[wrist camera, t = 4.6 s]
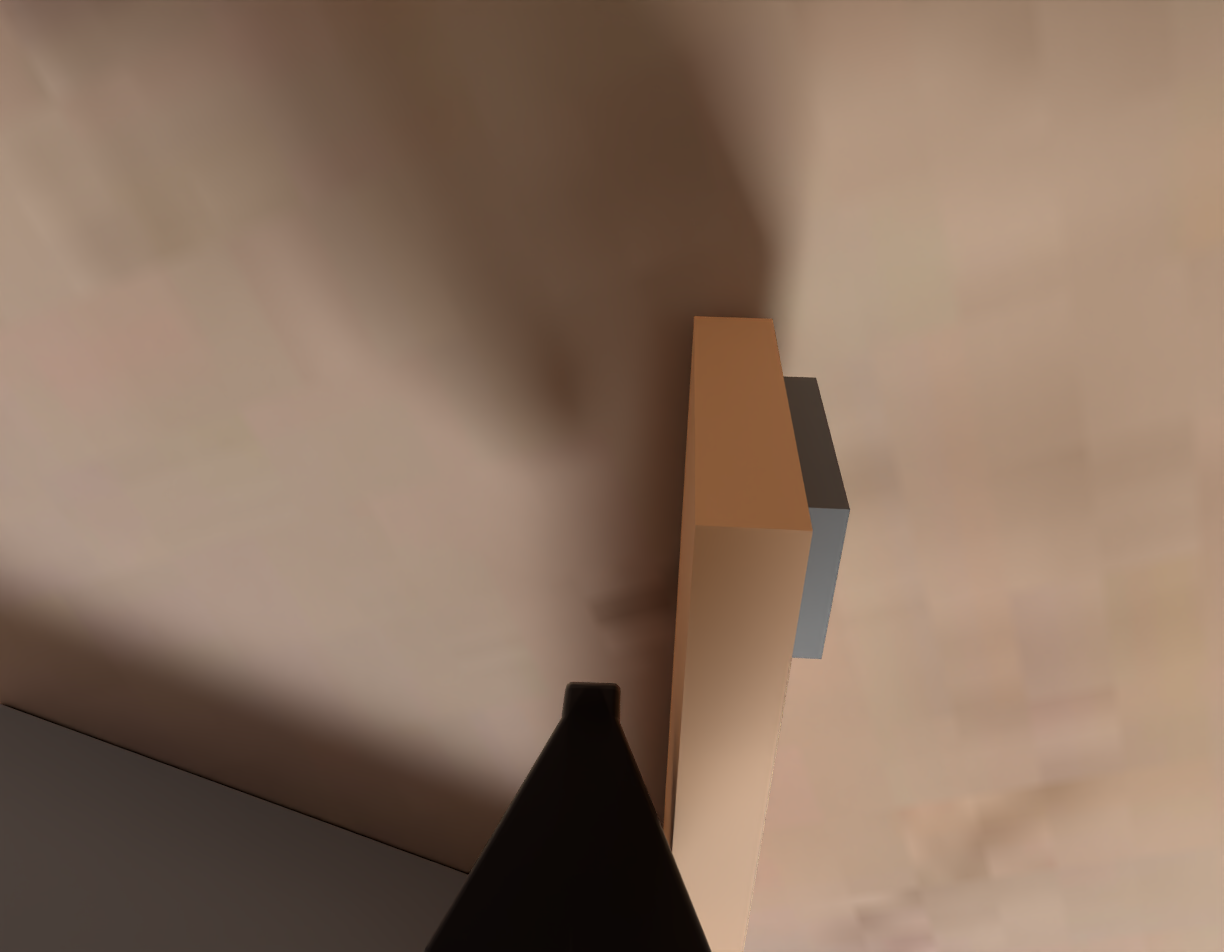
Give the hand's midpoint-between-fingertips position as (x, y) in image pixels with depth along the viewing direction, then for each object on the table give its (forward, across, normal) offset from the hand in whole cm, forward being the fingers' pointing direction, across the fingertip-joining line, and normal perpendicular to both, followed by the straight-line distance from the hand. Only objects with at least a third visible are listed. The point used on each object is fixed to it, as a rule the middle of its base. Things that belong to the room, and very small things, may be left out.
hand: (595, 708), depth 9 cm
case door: (+2, -2, +2) cm, 3 cm away
